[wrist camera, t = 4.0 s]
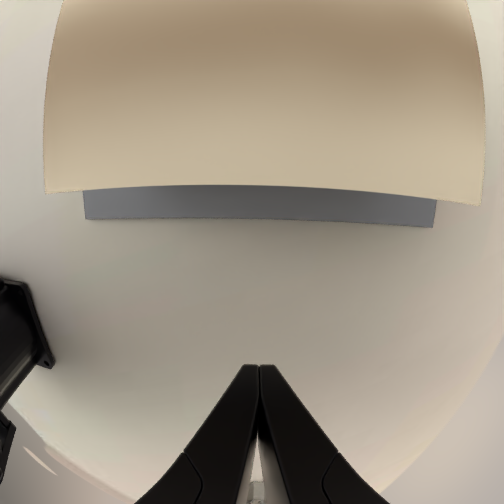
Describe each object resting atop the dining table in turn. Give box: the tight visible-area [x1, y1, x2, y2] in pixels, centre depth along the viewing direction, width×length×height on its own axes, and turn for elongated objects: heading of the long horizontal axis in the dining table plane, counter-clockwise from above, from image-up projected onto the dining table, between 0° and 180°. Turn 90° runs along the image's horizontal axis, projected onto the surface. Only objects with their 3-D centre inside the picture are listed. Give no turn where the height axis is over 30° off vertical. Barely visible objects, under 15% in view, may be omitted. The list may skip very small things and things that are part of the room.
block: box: [43, 0, 485, 206], centre depth 7 cm, size 6×10×6 cm, turn 89°
